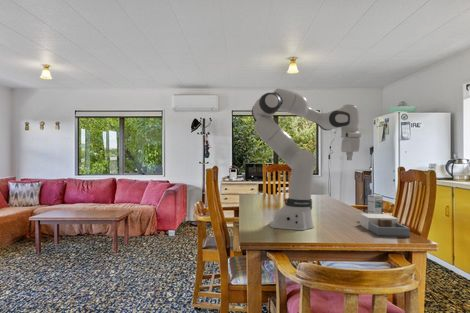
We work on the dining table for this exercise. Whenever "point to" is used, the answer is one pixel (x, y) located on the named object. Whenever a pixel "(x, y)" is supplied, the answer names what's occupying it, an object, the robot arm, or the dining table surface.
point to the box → (389, 230)
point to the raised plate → (375, 219)
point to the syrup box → (375, 204)
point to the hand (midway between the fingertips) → (349, 160)
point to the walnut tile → (385, 223)
